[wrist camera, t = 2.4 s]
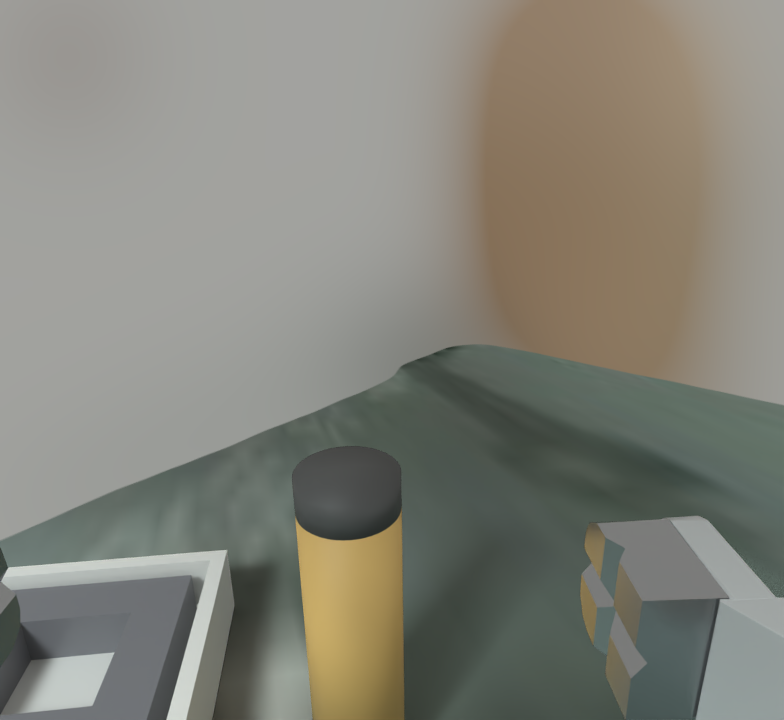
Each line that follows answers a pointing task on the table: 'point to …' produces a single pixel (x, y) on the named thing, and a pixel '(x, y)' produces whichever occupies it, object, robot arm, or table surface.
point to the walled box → (119, 638)
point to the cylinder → (352, 581)
